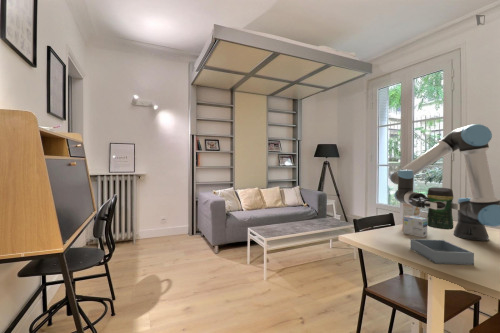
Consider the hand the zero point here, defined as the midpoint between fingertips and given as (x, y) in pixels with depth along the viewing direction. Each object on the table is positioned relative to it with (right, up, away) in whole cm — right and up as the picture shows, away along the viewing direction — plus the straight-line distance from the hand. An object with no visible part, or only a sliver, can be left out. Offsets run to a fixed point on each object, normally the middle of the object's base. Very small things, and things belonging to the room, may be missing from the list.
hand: (447, 206), depth 105 cm
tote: (0, -24, +5) cm, 24 cm away
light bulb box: (+13, -24, +39) cm, 47 cm away
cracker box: (+20, -24, +52) cm, 61 cm away
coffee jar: (0, -11, +5) cm, 12 cm away
